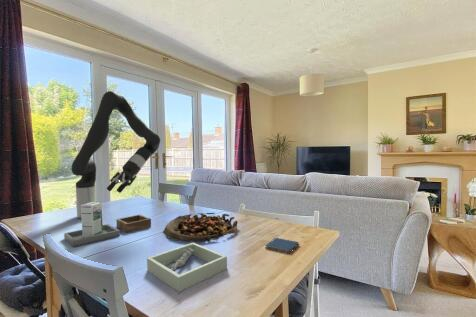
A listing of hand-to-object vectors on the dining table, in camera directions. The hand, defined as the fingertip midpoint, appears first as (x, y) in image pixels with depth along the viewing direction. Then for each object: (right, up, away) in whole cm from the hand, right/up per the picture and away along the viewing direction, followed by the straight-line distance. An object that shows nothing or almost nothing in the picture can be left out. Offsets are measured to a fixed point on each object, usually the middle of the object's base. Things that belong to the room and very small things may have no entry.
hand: (113, 190), depth 121 cm
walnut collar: (+7, -19, +7) cm, 21 cm away
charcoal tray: (-5, -19, -8) cm, 22 cm away
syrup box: (-5, -19, -7) cm, 21 cm away
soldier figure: (+40, -20, -36) cm, 57 cm away
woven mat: (+76, -20, -21) cm, 81 cm away
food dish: (+41, -19, +1) cm, 45 cm away
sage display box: (+43, -20, -39) cm, 61 cm away
